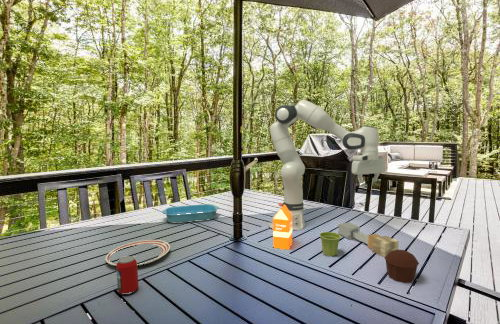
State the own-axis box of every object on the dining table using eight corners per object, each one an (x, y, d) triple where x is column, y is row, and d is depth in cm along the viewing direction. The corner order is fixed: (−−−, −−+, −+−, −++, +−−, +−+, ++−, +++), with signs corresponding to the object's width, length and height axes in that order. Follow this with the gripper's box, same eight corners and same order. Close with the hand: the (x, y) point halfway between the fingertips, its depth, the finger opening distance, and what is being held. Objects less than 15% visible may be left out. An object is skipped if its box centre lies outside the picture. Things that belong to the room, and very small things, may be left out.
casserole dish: (215, 211, 202) (215, 202, 201) (222, 220, 181) (221, 210, 180) (162, 217, 191) (162, 207, 190) (162, 227, 170) (162, 215, 169)
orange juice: (273, 248, 135) (272, 207, 133) (277, 241, 144) (277, 203, 142) (288, 250, 133) (288, 209, 131) (292, 243, 141) (292, 204, 139)
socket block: (384, 257, 123) (385, 243, 122) (372, 251, 129) (372, 238, 129) (398, 254, 126) (398, 240, 125) (385, 248, 132) (385, 235, 132)
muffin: (402, 287, 99) (403, 260, 98) (377, 273, 109) (378, 249, 108) (425, 280, 104) (426, 254, 103) (398, 267, 114) (399, 243, 113)
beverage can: (122, 286, 103) (120, 255, 102) (141, 285, 104) (139, 254, 102) (115, 297, 96) (112, 263, 95) (135, 295, 97) (133, 262, 96)
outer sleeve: (348, 239, 144) (349, 228, 144) (338, 234, 151) (338, 224, 151) (359, 237, 147) (359, 226, 146) (348, 232, 154) (349, 222, 154)
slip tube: (379, 252, 128) (380, 240, 127) (350, 238, 145) (350, 227, 145) (386, 250, 129) (387, 238, 129) (356, 237, 147) (357, 226, 146)
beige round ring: (106, 278, 110) (105, 270, 109) (105, 252, 134) (105, 246, 134) (176, 262, 122) (176, 255, 122) (164, 241, 147) (164, 235, 146)
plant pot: (340, 250, 131) (341, 232, 130) (340, 259, 122) (340, 240, 121) (320, 248, 134) (320, 230, 133) (318, 256, 125) (318, 237, 124)
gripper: (379, 155, 156) (378, 179, 158) (350, 156, 149) (349, 182, 150) (388, 156, 150) (387, 181, 152) (358, 157, 143) (357, 184, 144)
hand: (368, 181), depth 151 cm, fingers open, 8 cm apart
